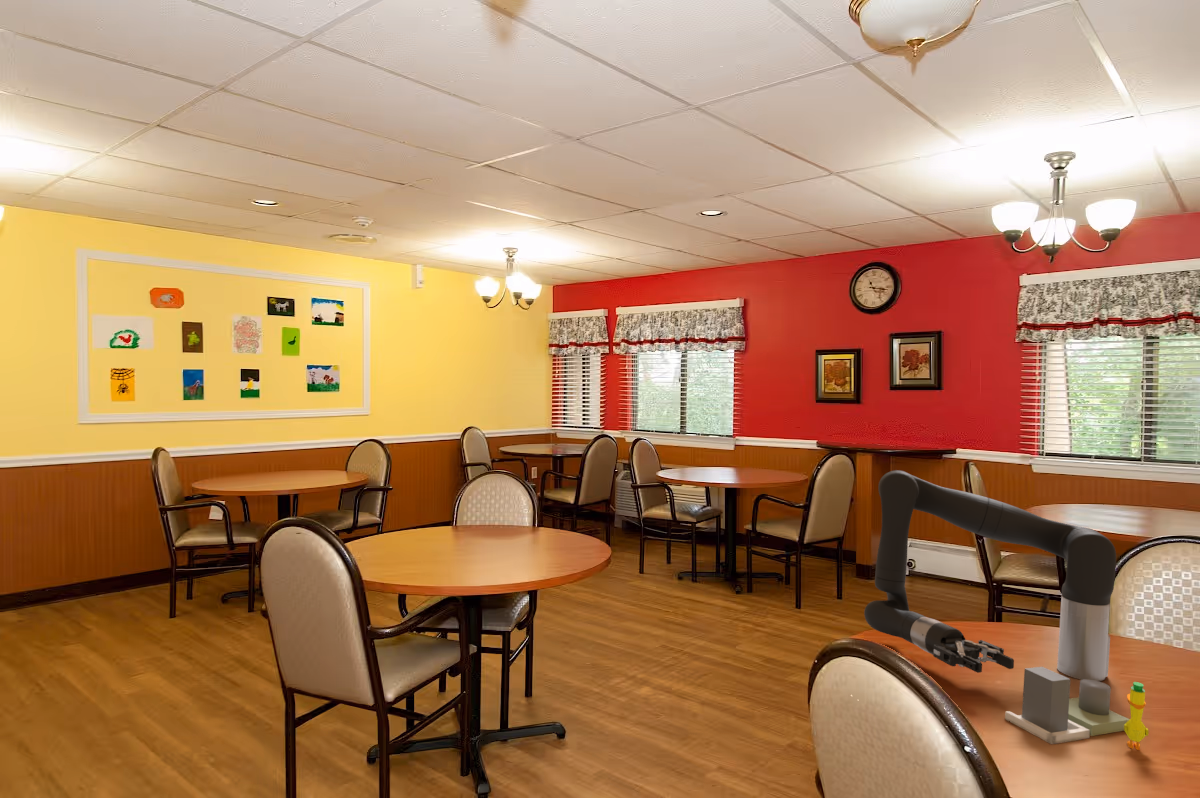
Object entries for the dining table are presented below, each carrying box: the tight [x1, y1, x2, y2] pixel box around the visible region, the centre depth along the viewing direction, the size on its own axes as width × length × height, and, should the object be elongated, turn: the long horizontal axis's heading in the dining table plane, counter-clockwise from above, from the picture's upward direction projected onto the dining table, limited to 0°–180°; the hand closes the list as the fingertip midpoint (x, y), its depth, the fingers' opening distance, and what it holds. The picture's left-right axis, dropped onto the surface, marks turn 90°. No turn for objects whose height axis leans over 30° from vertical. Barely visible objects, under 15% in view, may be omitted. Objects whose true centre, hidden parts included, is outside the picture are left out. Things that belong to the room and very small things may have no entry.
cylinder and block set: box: [1004, 679, 1131, 745], centre depth 140 cm, size 21×10×7 cm, turn 109°
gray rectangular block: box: [1021, 666, 1071, 733], centre depth 139 cm, size 4×6×10 cm
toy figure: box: [1124, 681, 1150, 751], centre depth 132 cm, size 7×4×12 cm, turn 153°
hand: (996, 666), depth 149 cm, fingers open, 8 cm apart
